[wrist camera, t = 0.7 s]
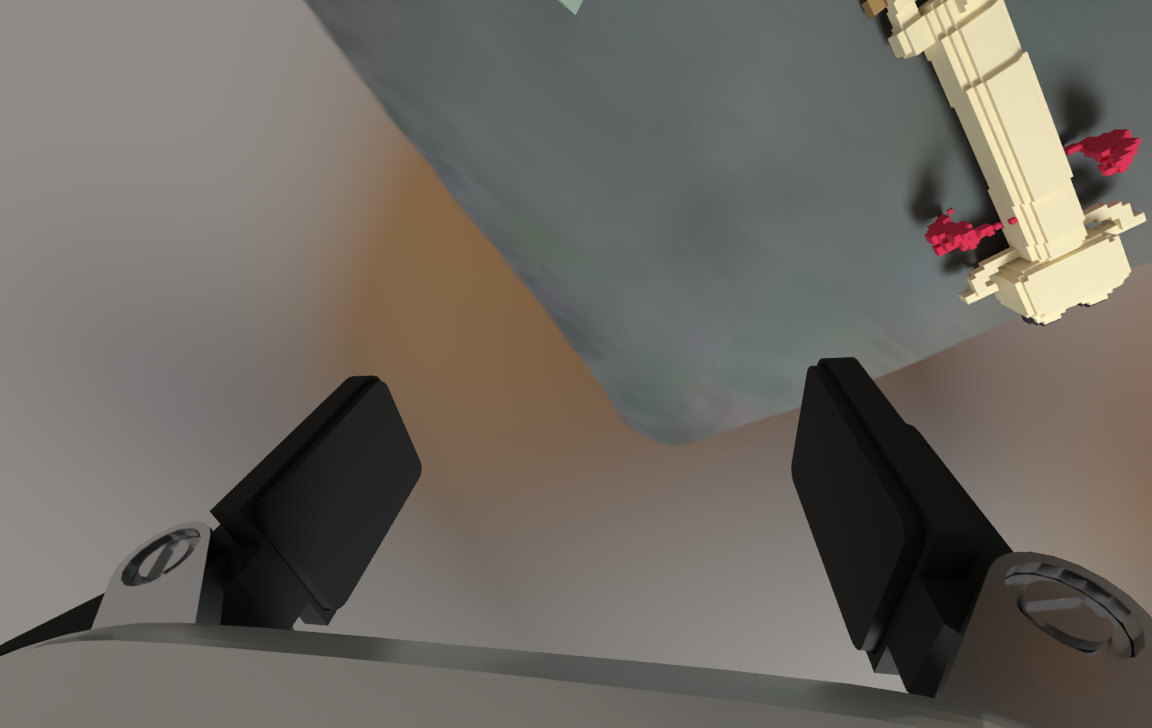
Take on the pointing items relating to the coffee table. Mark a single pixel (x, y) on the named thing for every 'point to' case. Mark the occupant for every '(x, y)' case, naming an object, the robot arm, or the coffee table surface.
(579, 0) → the block
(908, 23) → the cream elongated piece
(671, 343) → the coffee table surface
